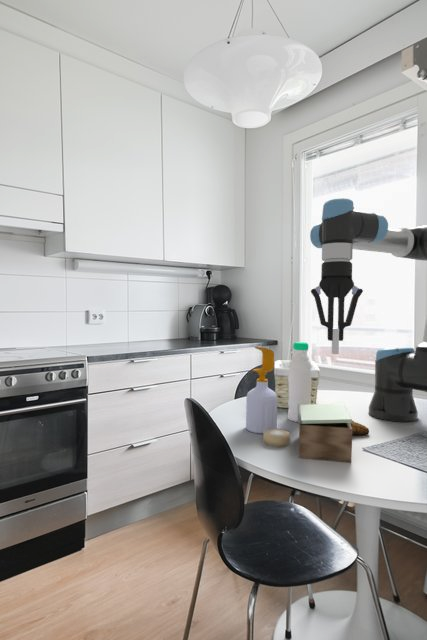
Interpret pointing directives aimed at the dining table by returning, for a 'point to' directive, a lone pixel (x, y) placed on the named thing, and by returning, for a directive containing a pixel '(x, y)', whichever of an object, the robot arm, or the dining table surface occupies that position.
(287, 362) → the storage basket
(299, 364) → the water bottle
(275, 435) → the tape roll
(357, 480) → the dining table surface
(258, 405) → the soap bottle
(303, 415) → the lid
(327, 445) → the box
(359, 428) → the croissant
